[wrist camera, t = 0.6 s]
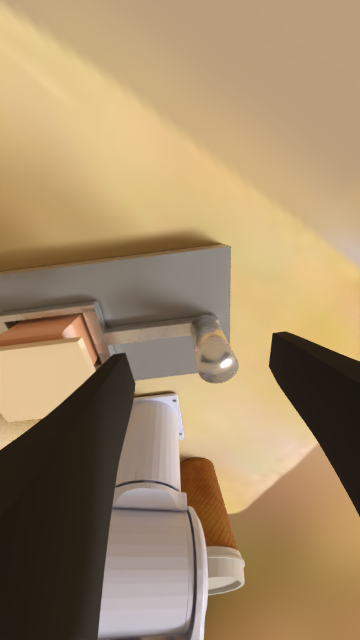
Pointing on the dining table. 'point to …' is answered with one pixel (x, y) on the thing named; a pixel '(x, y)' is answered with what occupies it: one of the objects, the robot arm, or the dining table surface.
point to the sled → (146, 336)
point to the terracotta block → (50, 331)
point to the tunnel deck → (109, 319)
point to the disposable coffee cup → (213, 525)
